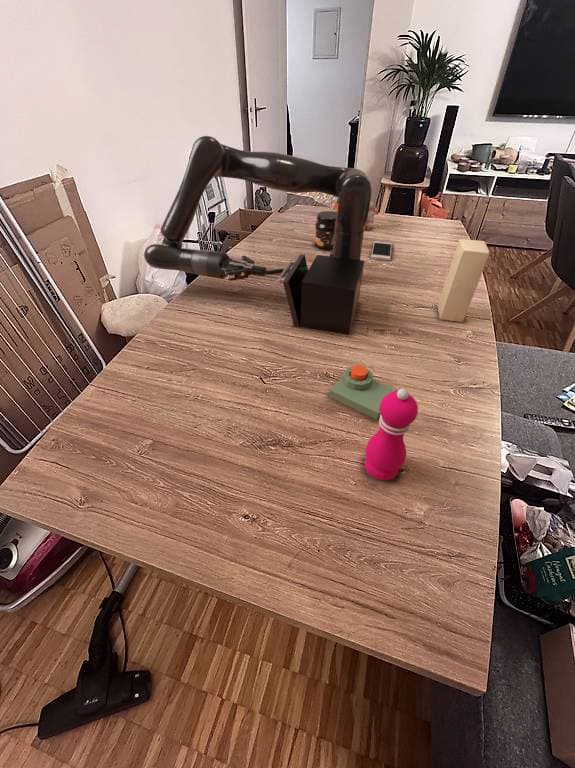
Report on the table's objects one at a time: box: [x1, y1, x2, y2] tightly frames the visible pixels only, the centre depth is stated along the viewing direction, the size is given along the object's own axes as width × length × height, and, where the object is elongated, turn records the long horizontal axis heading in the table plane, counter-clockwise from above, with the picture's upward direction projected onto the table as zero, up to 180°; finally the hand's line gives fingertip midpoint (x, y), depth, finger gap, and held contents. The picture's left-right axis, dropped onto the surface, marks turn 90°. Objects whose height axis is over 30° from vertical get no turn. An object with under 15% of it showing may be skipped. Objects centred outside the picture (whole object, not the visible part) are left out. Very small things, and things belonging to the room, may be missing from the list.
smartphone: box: [370, 240, 393, 261], centre depth 146 cm, size 7×16×1 cm, turn 166°
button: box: [350, 364, 368, 381], centre depth 85 cm, size 4×4×2 cm
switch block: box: [328, 365, 397, 421], centre depth 84 cm, size 12×10×4 cm
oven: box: [299, 254, 365, 336], centre depth 107 cm, size 14×18×14 cm
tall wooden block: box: [437, 238, 490, 323], centre depth 105 cm, size 8×7×21 cm
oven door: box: [275, 254, 309, 327], centre depth 110 cm, size 4×18×14 cm, turn 164°
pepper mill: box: [364, 388, 419, 481], centre depth 65 cm, size 7×7×20 cm
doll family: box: [331, 197, 380, 231], centre depth 161 cm, size 21×10×13 cm, turn 65°
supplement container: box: [313, 210, 337, 251], centre depth 146 cm, size 10×10×12 cm
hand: (265, 271), depth 108 cm, fingers closed
